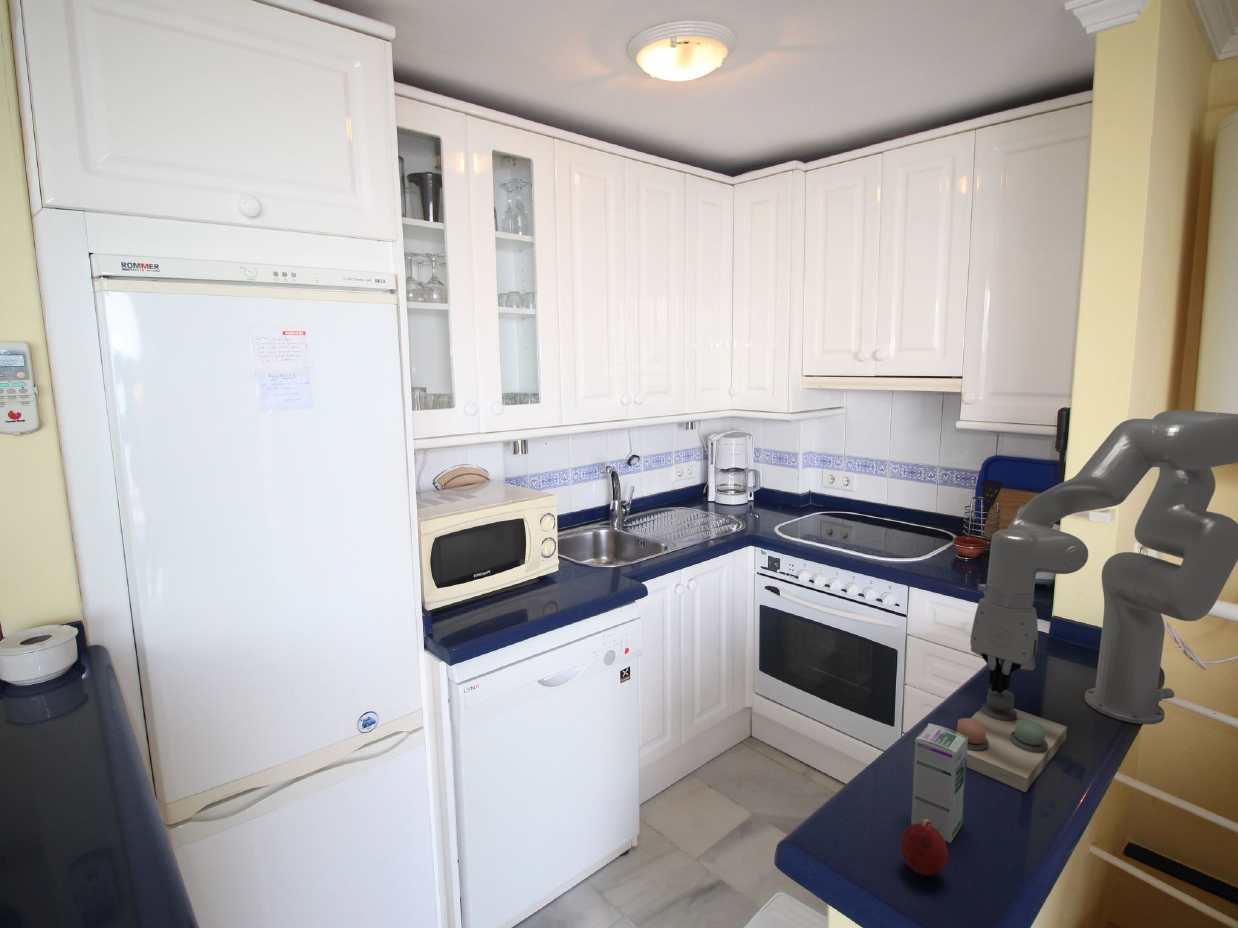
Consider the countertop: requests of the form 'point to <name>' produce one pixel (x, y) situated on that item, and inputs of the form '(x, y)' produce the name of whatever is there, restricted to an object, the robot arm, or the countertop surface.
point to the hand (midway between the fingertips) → (998, 689)
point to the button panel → (1012, 747)
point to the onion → (924, 848)
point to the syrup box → (939, 779)
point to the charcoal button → (1001, 700)
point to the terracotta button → (972, 730)
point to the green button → (1029, 732)
